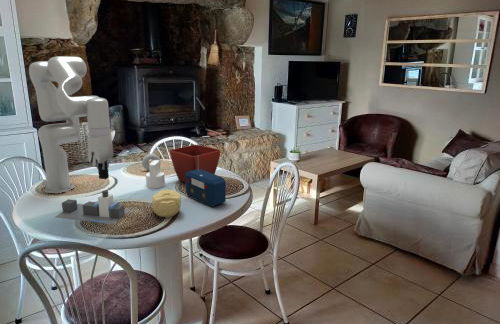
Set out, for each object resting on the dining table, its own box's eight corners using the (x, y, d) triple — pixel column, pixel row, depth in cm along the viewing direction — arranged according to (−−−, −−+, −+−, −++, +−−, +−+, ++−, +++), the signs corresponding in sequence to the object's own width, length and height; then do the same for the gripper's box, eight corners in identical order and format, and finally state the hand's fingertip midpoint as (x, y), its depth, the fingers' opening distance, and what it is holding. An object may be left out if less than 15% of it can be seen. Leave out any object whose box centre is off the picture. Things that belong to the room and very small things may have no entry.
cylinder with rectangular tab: (162, 188, 180) (161, 165, 177) (144, 188, 181) (142, 164, 177) (166, 182, 189) (165, 160, 186) (149, 182, 189) (148, 159, 186)
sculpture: (153, 221, 145) (151, 196, 142) (152, 209, 156) (151, 185, 153) (182, 218, 148) (181, 193, 145) (179, 207, 159) (178, 183, 156)
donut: (143, 172, 205) (142, 155, 202) (142, 170, 208) (141, 153, 205) (161, 170, 208) (160, 153, 206) (160, 169, 211) (159, 152, 209)
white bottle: (99, 216, 144) (97, 192, 142) (105, 212, 148) (103, 189, 146) (108, 217, 144) (106, 193, 141) (114, 213, 148) (112, 190, 145)
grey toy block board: (54, 220, 143) (52, 205, 142) (77, 206, 156) (76, 192, 155) (112, 227, 139) (111, 211, 137) (131, 213, 152) (130, 198, 150)
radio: (183, 195, 172) (182, 154, 166) (198, 191, 178) (197, 151, 172) (211, 209, 158) (211, 164, 152) (227, 203, 164) (227, 161, 158)
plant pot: (196, 173, 206) (196, 143, 201) (221, 180, 194) (221, 149, 190) (169, 181, 192) (168, 149, 187) (194, 189, 180) (194, 156, 175)
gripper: (102, 127, 144) (106, 171, 149) (77, 135, 130) (83, 183, 135) (119, 128, 143) (123, 173, 148) (96, 136, 129) (101, 185, 134)
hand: (103, 178), depth 142 cm, fingers closed
